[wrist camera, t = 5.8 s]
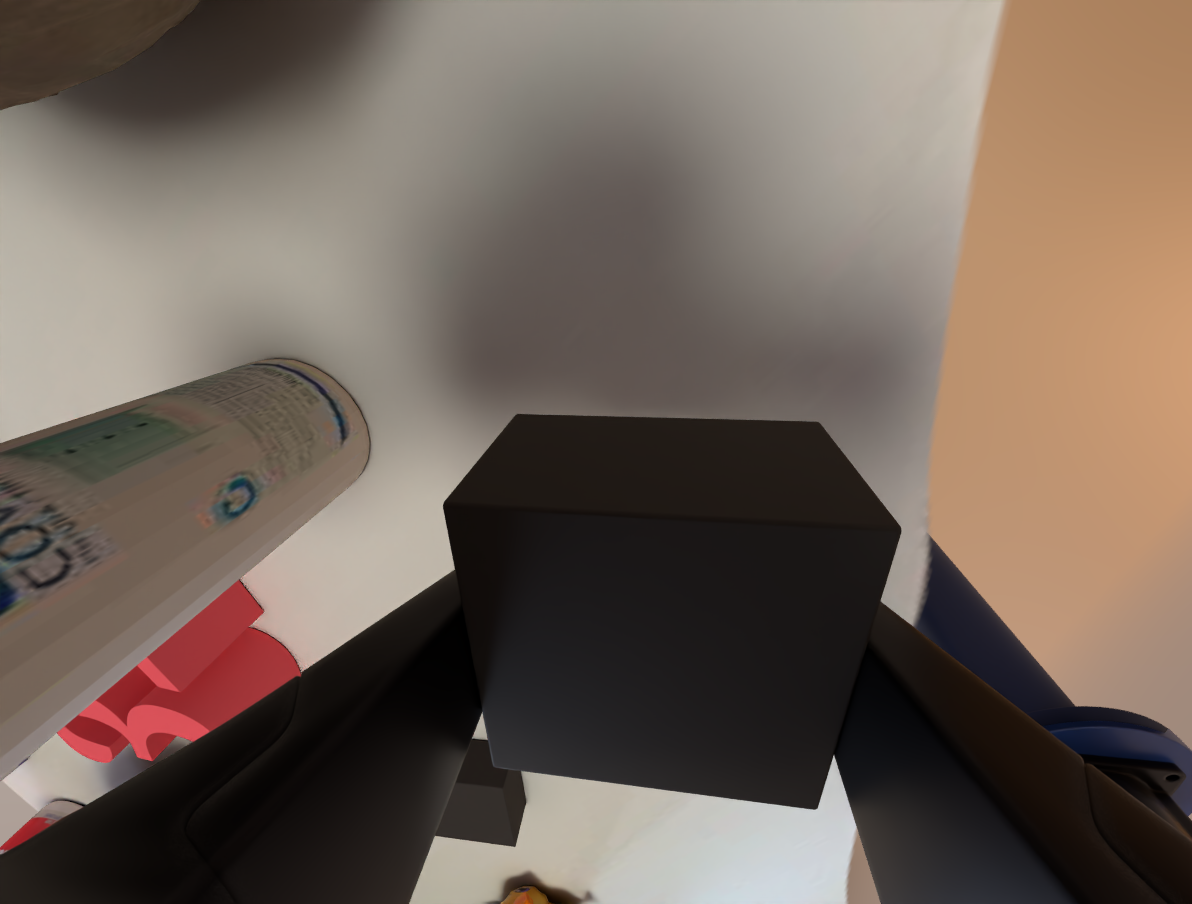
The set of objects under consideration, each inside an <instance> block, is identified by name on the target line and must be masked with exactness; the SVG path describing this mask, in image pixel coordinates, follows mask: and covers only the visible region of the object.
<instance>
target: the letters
mask: <svg viewBox="0 0 1192 904" xmlns="http://www.w3.org/2000/svg"><path fill="white" fill-rule="evenodd" d="M263 613H264V611H263V610H262V609H261V608H260V606H259V605H258V604H257V603H256V601H255V600H254V599H253V597H252V596H251V595H250V594H249V592H248V591H247V590H246V589H245V587H244V586H243V585H242V584H241V582H240V581H239V580H238V581H237V582H235V583H234V584H233V585H232V586H231V587H229V588H228V589H227V590H226V591H225V592H223V593H222V594H221V595H220V596H219V597H218V598H216V599H215V600H214V601H213V602H212V603H210V604H209V605H208V606H207V607H206V608H204V609H203V610H202V611H201V612H200V613H198V614H197V615H196V616H195V617H194V618H193V619H191V620H190V621H189V622H188V623H187V624H185V625H184V626H183V627H182V628H181V629H179V630H178V631H177V632H176V633H175V634H174V635H172V636H171V637H170V638H169V639H168V640H166V641H165V642H164V643H163V644H162V645H160V646H159V647H158V648H157V649H156V650H155V651H153V652H152V653H151V654H150V655H149V656H147V657H146V658H145V659H144V660H143V661H141V662H140V663H139V664H138V665H137V666H136V667H134V668H133V669H132V670H131V671H130V672H128V673H127V674H126V675H125V676H124V677H122V678H121V679H120V680H119V681H118V682H117V683H115V684H114V685H113V686H112V687H111V688H109V689H108V690H107V691H106V692H105V693H103V694H102V695H101V696H100V697H99V698H98V699H96V700H95V701H94V702H93V703H92V704H90V705H89V706H88V707H87V708H86V709H84V710H83V711H82V712H81V713H80V714H78V715H77V716H76V717H75V718H74V719H73V720H71V721H70V722H69V723H68V724H67V725H65V726H64V727H63V728H62V729H61V730H59V731H58V732H57V734H58V735H59V736H60V737H61V738H62V739H63V740H64V741H65V742H66V743H67V744H68V745H69V746H70V747H71V748H73V749H74V750H75V751H77V752H78V753H80V754H81V755H83V756H85V757H87V758H89V759H92V760H94V761H98V762H103V763H108V762H111V761H112V760H113V759H114V758H115V757H116V756H117V755H118V754H119V753H120V752H121V751H122V750H123V749H124V748H125V747H126V746H127V745H128V744H129V743H131V745H132V747H133V749H134V751H135V753H136V756H137V757H138V758H142V759H146V760H150V761H153V760H154V759H155V758H156V757H157V756H158V755H159V754H160V753H161V752H162V751H163V750H164V749H165V748H166V747H167V746H168V745H169V744H170V743H171V741H172V740H173V739H174V738H175V737H176V736H179V737H182V738H185V739H188V740H190V741H192V742H194V741H195V740H197V739H199V738H200V737H202V736H204V735H205V734H207V733H209V732H210V731H212V730H214V729H215V728H217V727H219V726H220V725H222V724H223V723H225V722H227V721H228V720H230V719H231V718H233V717H234V716H236V715H237V714H239V713H241V712H242V711H244V710H245V709H247V708H248V707H250V706H251V705H253V704H254V703H256V702H258V701H259V700H261V699H262V698H264V697H265V696H267V695H268V694H270V693H271V692H273V691H274V690H276V689H277V688H279V687H280V686H282V685H283V684H285V683H286V682H288V681H289V680H291V679H292V678H294V677H295V676H300V677H301V674H300V671H299V668H298V666H297V664H296V662H295V660H294V658H293V657H292V656H291V654H290V653H289V652H288V651H287V649H286V648H285V647H284V646H282V645H281V644H280V643H279V642H278V641H276V640H275V639H273V638H272V637H270V636H269V635H267V634H265V633H263V632H261V631H258V630H255V629H252V628H249V626H250V625H251V624H252V623H253V622H254V621H255V620H256V619H257V618H258V617H259V616H260V615H262V614H263Z"/></svg>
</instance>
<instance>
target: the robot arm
mask: <svg viewBox="0 0 1192 904" xmlns="http://www.w3.org/2000/svg"><path fill="white" fill-rule="evenodd" d="M481 714H482V706H481V701H480V696H479V691H478V686H477V680H476V675H475V670H474V665H473V660H472V655H471V649H470V644H469V639H468V634H467V629H466V623H465V618H464V613H463V608H462V603H461V597H460V592H459V587H458V582H457V577H456V572H455V570H453V571H452V572H451V573H449V574H448V575H446V576H445V577H443V578H442V579H440V580H439V581H437V582H436V583H434V584H433V585H431V586H430V587H428V588H427V589H425V590H424V591H422V592H421V593H419V594H418V595H416V596H415V597H413V598H412V599H410V600H409V601H407V602H406V603H404V604H403V605H401V606H400V607H398V608H397V609H395V610H394V611H392V612H391V613H389V614H388V615H386V616H385V617H383V618H382V619H380V620H379V621H377V622H376V623H375V624H373V625H372V626H370V627H369V628H367V629H366V630H364V631H363V632H361V633H360V634H358V635H357V636H355V637H354V638H352V639H351V640H349V641H348V642H346V643H345V644H343V645H342V646H340V647H339V648H337V649H336V650H334V651H333V652H331V653H330V654H328V655H327V656H325V657H324V658H322V659H321V660H319V661H318V662H316V663H315V664H313V665H312V666H310V667H309V668H307V669H306V670H304V671H303V672H302V674H301V677H300V676H295V677H294V678H292V679H291V680H289V681H288V682H286V683H285V684H283V685H282V686H280V687H279V688H277V689H276V690H274V691H273V692H271V693H270V694H268V695H267V696H265V697H264V698H262V699H261V700H259V701H258V702H256V703H254V704H253V705H251V706H250V707H248V708H247V709H245V710H244V711H242V712H241V713H239V714H237V715H236V716H234V717H233V718H231V719H230V720H228V721H227V722H225V723H223V724H222V725H220V726H219V727H217V728H215V729H214V730H212V731H210V732H209V733H207V734H205V735H204V736H202V737H200V738H199V739H197V740H195V741H194V742H192V743H191V744H189V745H187V746H186V747H184V748H182V749H181V750H179V751H177V752H176V753H174V754H172V755H171V756H169V757H167V758H166V759H164V760H162V761H161V762H159V763H157V764H156V765H154V766H152V767H150V768H149V769H147V770H145V771H144V772H142V773H140V774H139V775H137V776H135V777H133V778H132V779H130V780H128V781H127V782H125V783H123V784H122V785H120V786H118V787H117V788H115V789H113V790H111V791H110V792H108V793H106V794H105V795H103V796H101V797H100V798H98V799H96V800H94V801H93V802H91V803H89V804H88V805H86V806H84V807H83V808H81V809H79V810H78V811H76V812H74V813H72V814H71V815H69V816H67V817H66V818H64V819H62V820H61V821H59V822H57V823H56V824H54V825H52V826H50V827H49V828H47V829H45V830H44V831H42V832H40V833H39V834H37V835H35V836H33V837H32V838H30V839H28V840H26V841H24V842H23V843H21V844H19V845H17V846H15V847H14V848H12V849H10V850H8V851H7V852H4V853H2V854H0V904H409V902H410V899H411V897H412V894H413V891H414V889H415V886H416V884H417V881H418V878H419V876H420V873H421V871H422V868H423V865H424V863H425V860H426V858H427V855H428V852H429V850H430V847H431V844H432V842H433V839H434V837H435V834H436V831H437V829H438V826H439V824H440V821H441V818H442V816H443V813H444V810H445V808H446V805H447V803H448V800H449V797H450V795H451V792H452V790H453V787H454V784H455V782H456V779H457V776H458V774H459V771H460V769H461V766H462V763H463V761H464V758H465V756H466V753H467V750H468V748H469V745H470V742H471V740H472V737H473V735H474V732H475V729H476V727H477V724H478V722H479V719H480V716H481ZM834 756H835V759H836V762H837V766H838V769H839V772H840V775H841V778H842V781H843V785H844V788H845V791H846V794H847V797H848V801H849V804H850V807H851V810H852V813H853V816H854V820H855V823H856V826H857V829H858V832H859V836H860V839H861V842H862V845H863V848H864V851H865V855H866V858H867V861H868V864H869V867H870V871H871V874H872V877H873V880H874V883H875V887H876V890H877V893H878V896H879V899H880V902H881V904H1192V821H1191V819H1190V818H1189V817H1188V816H1187V815H1186V814H1185V813H1184V811H1183V810H1182V809H1181V808H1180V807H1179V806H1178V805H1177V803H1176V802H1175V801H1174V800H1173V799H1172V798H1171V796H1172V795H1173V793H1174V792H1175V791H1176V790H1177V789H1178V787H1179V786H1180V785H1181V784H1182V783H1183V781H1184V780H1185V779H1186V774H1185V773H1184V772H1183V771H1182V770H1181V769H1180V768H1179V767H1178V766H1177V765H1176V764H1174V763H1170V762H1161V761H1150V760H1139V759H1129V758H1118V757H1107V756H1097V755H1086V754H1077V753H1076V752H1075V751H1073V750H1072V749H1071V748H1069V747H1068V746H1067V745H1066V744H1064V743H1063V742H1062V741H1060V740H1059V739H1058V738H1056V737H1055V736H1054V735H1053V734H1051V733H1050V732H1049V731H1047V730H1046V729H1045V728H1044V727H1042V726H1041V725H1040V724H1038V723H1037V722H1036V721H1034V720H1033V719H1032V718H1031V717H1029V716H1028V715H1027V714H1025V713H1024V712H1023V711H1022V710H1020V709H1019V708H1018V707H1016V706H1015V705H1014V704H1012V703H1011V702H1010V701H1009V700H1007V699H1006V698H1005V697H1003V696H1002V695H1001V694H1000V693H998V692H997V691H996V690H994V689H993V688H992V687H991V686H989V685H988V684H987V683H985V682H984V681H983V680H981V679H980V678H979V677H978V676H976V675H975V674H974V673H972V672H971V671H970V670H969V669H967V668H966V667H965V666H963V665H962V664H961V663H959V662H958V661H957V660H956V659H954V658H953V657H952V656H950V655H949V654H948V653H947V652H945V651H944V650H943V649H941V648H940V647H939V646H937V645H936V644H935V643H934V642H932V641H931V640H930V639H928V638H927V637H926V636H925V635H923V634H922V633H921V632H919V631H918V630H917V629H915V628H914V627H913V626H912V625H910V624H909V623H908V622H906V621H905V620H904V619H903V618H901V617H900V616H899V615H897V614H896V613H895V612H893V611H892V610H891V609H890V608H888V607H887V606H886V605H884V604H883V603H882V602H881V601H880V604H879V607H878V611H877V614H876V617H875V621H874V624H873V627H872V630H871V634H870V637H869V640H868V644H867V647H866V650H865V653H864V657H863V660H862V663H861V667H860V670H859V673H858V677H857V680H856V683H855V686H854V690H853V693H852V696H851V700H850V703H849V706H848V709H847V713H846V716H845V719H844V723H843V726H842V729H841V733H840V736H839V739H838V742H837V746H836V749H835V752H834Z"/></svg>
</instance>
